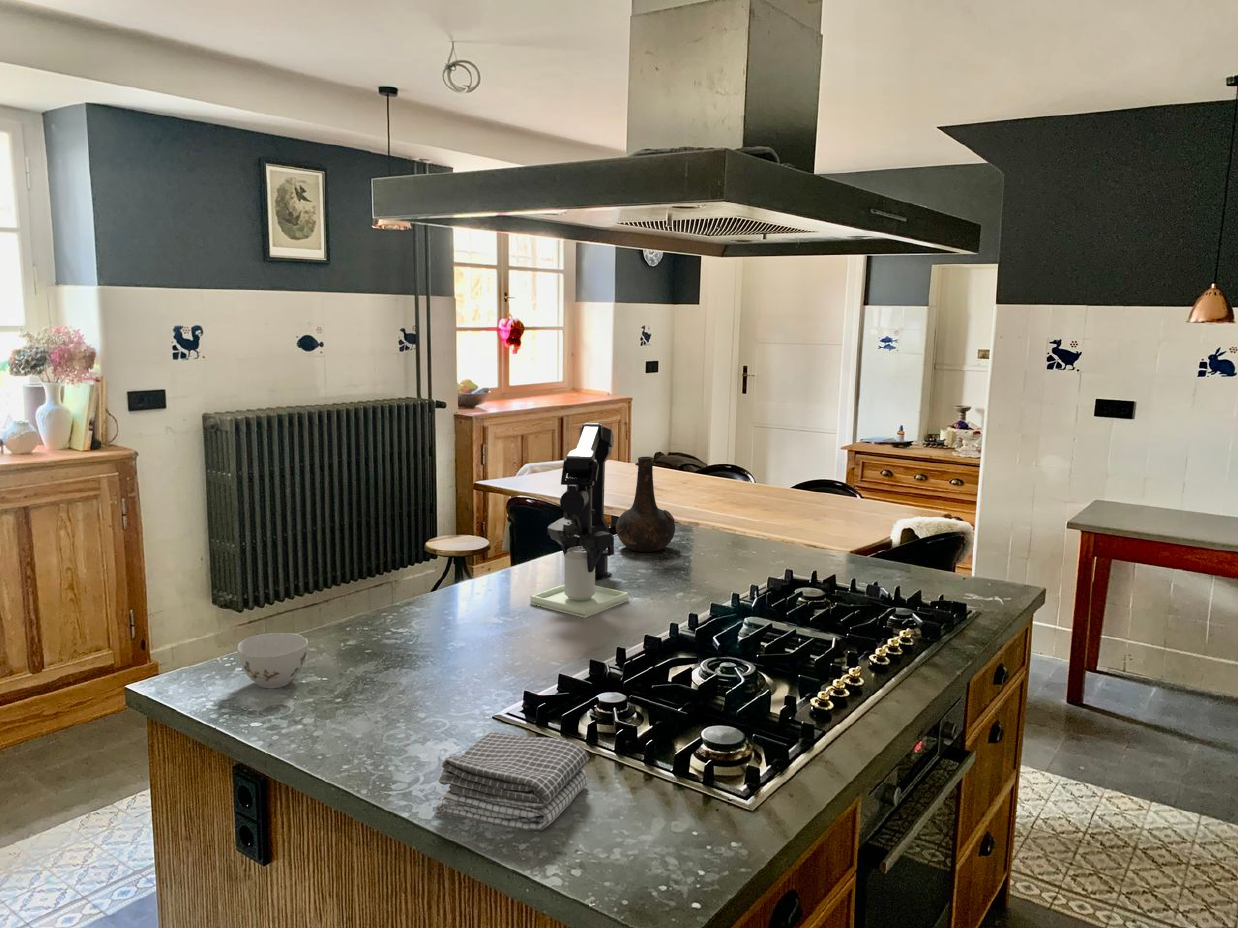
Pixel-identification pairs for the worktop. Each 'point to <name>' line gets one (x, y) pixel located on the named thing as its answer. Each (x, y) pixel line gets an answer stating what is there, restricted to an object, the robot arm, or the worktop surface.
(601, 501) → the robot arm
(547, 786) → the towel
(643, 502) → the glass bottle
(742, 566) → the worktop surface
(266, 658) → the teacup
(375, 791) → the worktop surface
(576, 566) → the can
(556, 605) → the tray
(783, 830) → the worktop surface
